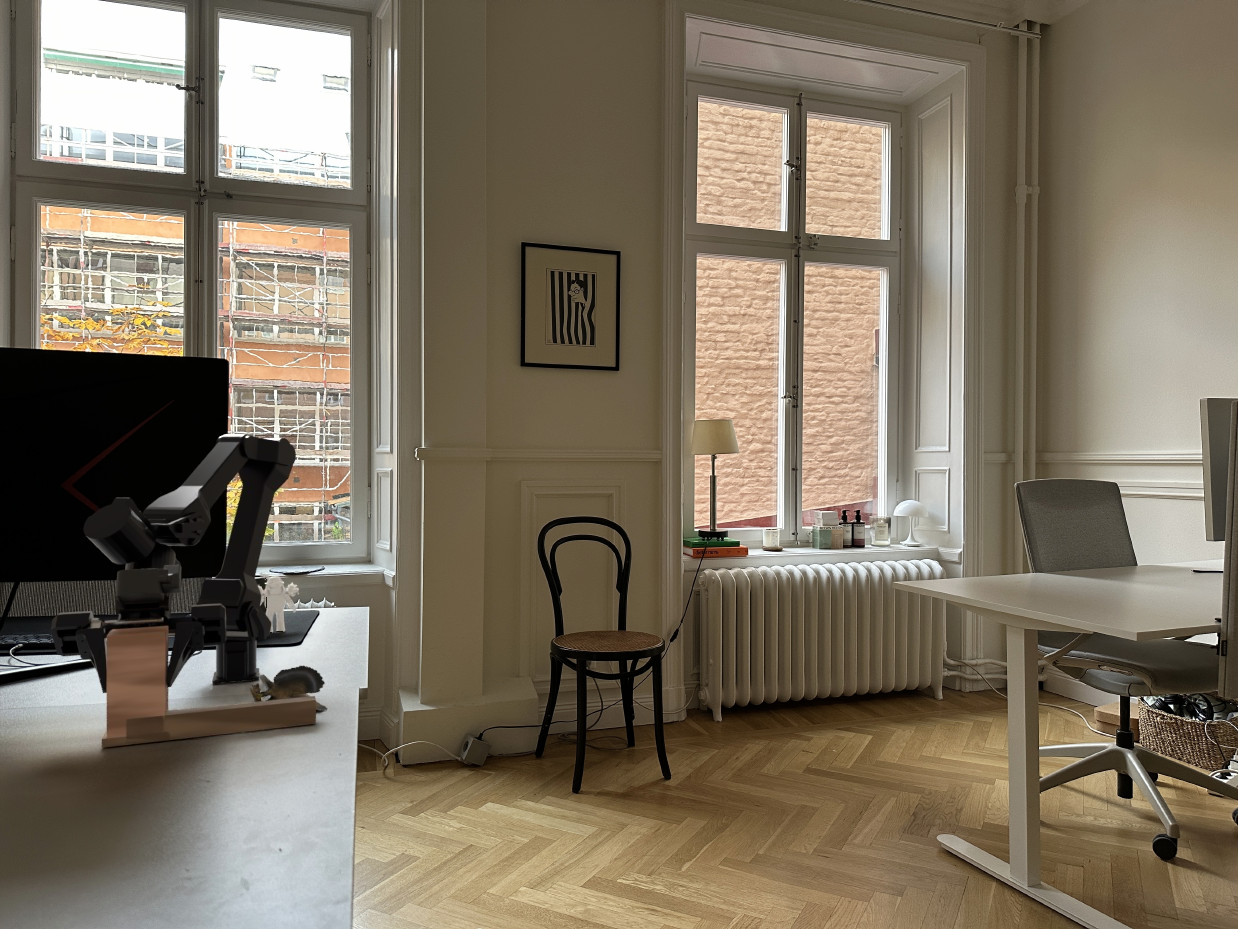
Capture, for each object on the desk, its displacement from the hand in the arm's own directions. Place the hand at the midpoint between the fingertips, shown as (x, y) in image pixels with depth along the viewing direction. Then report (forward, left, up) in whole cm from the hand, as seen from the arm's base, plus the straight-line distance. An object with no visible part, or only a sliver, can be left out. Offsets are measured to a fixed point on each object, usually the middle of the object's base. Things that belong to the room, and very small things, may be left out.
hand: (136, 688), depth 100 cm
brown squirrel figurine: (-6, +17, -7) cm, 19 cm away
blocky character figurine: (-67, +16, -7) cm, 70 cm away
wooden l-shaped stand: (-4, +8, -6) cm, 11 cm away
